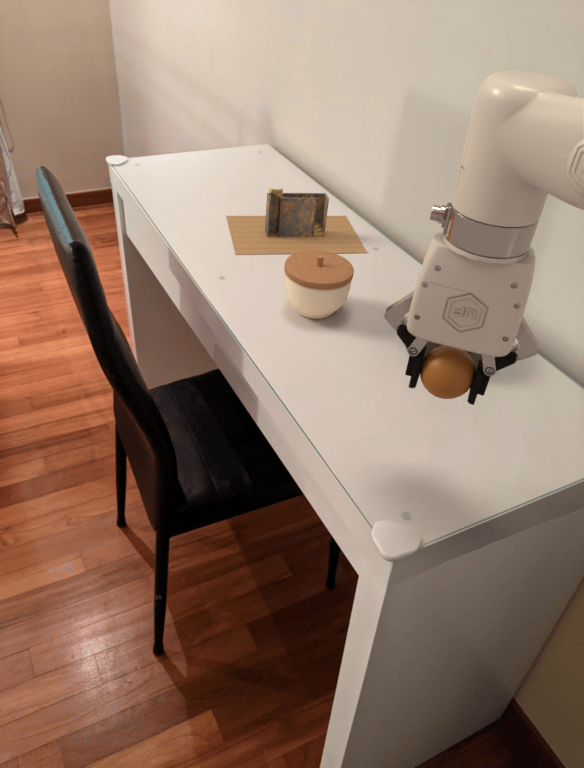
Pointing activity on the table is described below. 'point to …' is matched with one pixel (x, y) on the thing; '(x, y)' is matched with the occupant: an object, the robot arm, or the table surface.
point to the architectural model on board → (293, 227)
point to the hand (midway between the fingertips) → (443, 387)
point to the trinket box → (317, 282)
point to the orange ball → (447, 372)
